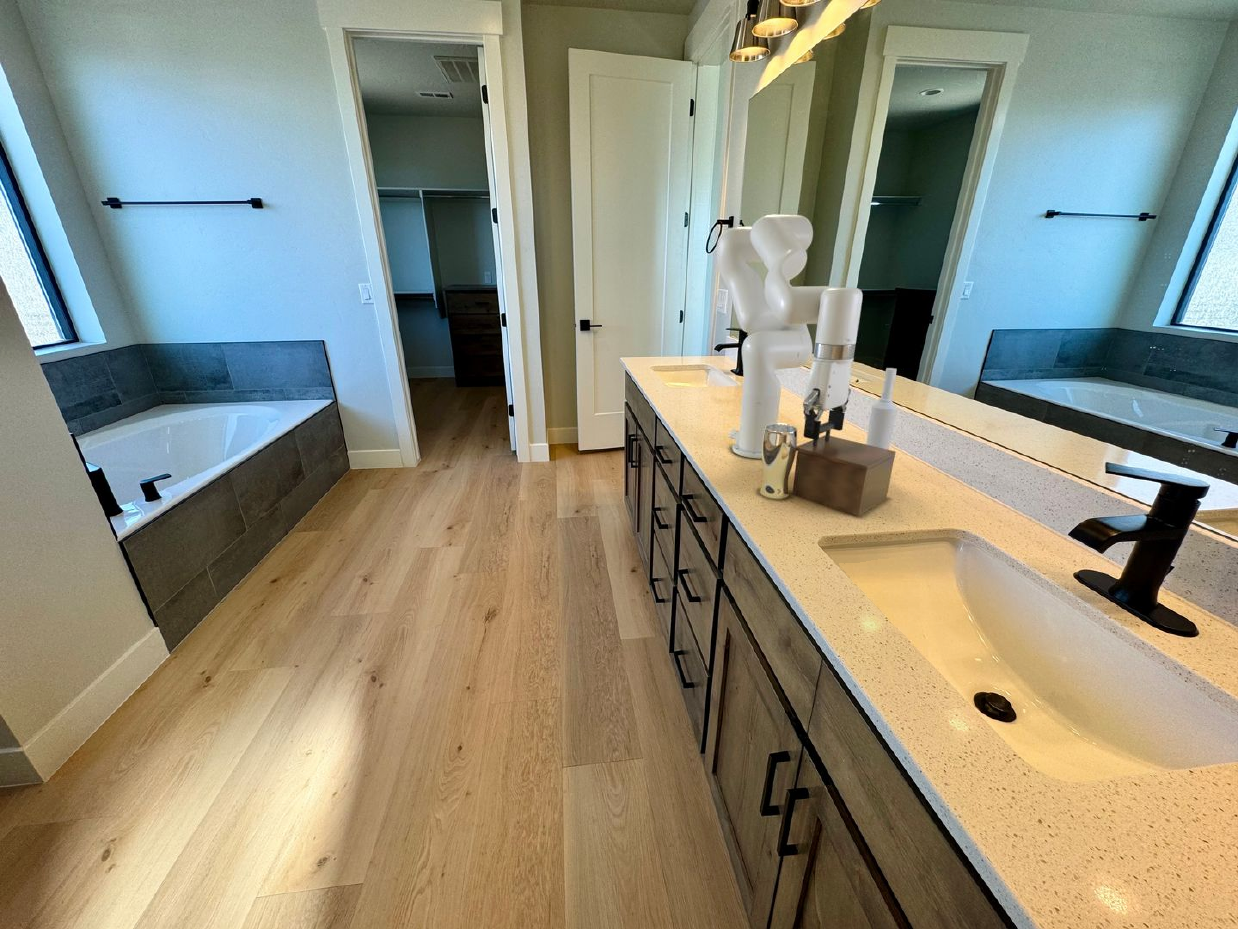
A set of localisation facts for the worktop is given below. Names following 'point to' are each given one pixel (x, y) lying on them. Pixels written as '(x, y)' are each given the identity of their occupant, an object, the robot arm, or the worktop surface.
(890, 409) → the bottle
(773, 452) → the beer glass
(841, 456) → the lid
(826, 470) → the chest
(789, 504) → the worktop surface
